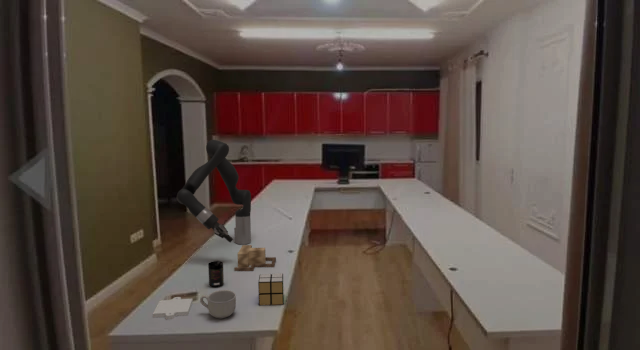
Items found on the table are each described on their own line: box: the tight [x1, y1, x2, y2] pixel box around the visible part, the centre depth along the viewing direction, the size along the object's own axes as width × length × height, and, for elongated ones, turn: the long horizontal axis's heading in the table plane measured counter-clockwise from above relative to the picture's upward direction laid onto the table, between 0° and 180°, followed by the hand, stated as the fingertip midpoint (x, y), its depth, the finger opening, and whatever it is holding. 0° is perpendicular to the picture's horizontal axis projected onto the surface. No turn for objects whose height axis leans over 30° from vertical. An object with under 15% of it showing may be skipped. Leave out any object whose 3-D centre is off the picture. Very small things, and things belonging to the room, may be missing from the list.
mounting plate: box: [152, 296, 194, 320], centre depth 173 cm, size 18×13×2 cm
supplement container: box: [207, 260, 225, 288], centre depth 198 cm, size 7×7×10 cm
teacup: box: [199, 289, 237, 319], centre depth 168 cm, size 14×11×8 cm
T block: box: [237, 244, 267, 267], centre depth 229 cm, size 13×16×8 cm
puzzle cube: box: [257, 272, 285, 306], centre depth 181 cm, size 10×10×10 cm
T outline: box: [233, 256, 277, 272], centre depth 230 cm, size 20×23×2 cm
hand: (231, 240), depth 228 cm, fingers closed
